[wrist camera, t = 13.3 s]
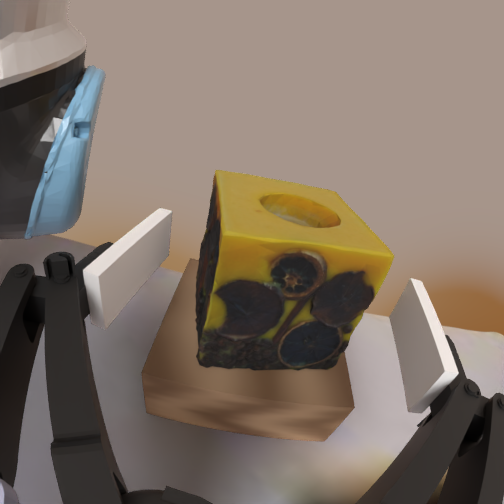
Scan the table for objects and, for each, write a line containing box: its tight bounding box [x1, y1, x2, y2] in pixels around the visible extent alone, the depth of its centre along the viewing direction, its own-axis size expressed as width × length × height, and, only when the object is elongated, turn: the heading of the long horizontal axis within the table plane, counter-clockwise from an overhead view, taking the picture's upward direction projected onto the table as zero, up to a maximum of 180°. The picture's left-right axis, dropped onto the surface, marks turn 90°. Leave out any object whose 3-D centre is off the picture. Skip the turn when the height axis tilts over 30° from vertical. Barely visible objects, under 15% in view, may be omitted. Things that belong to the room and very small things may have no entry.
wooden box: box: [142, 259, 355, 441], centre depth 25 cm, size 14×14×6 cm
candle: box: [195, 170, 394, 371], centre depth 21 cm, size 10×10×10 cm
